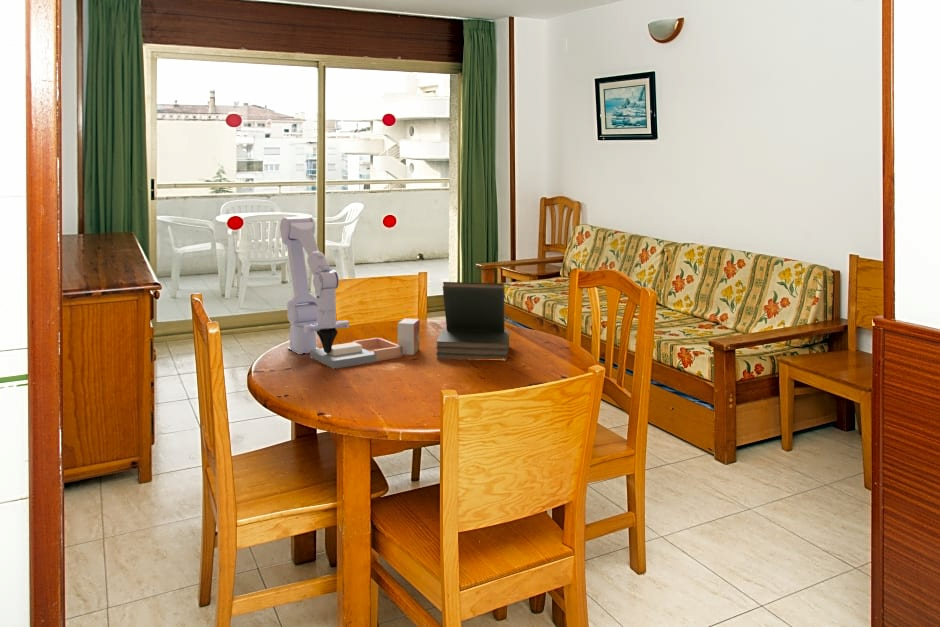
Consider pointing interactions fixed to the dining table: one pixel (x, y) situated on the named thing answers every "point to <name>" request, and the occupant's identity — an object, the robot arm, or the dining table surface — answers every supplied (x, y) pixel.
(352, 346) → the tile
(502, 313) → the open dark laptop
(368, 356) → the board
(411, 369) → the dining table surface
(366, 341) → the tray
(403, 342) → the small box
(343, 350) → the tile
